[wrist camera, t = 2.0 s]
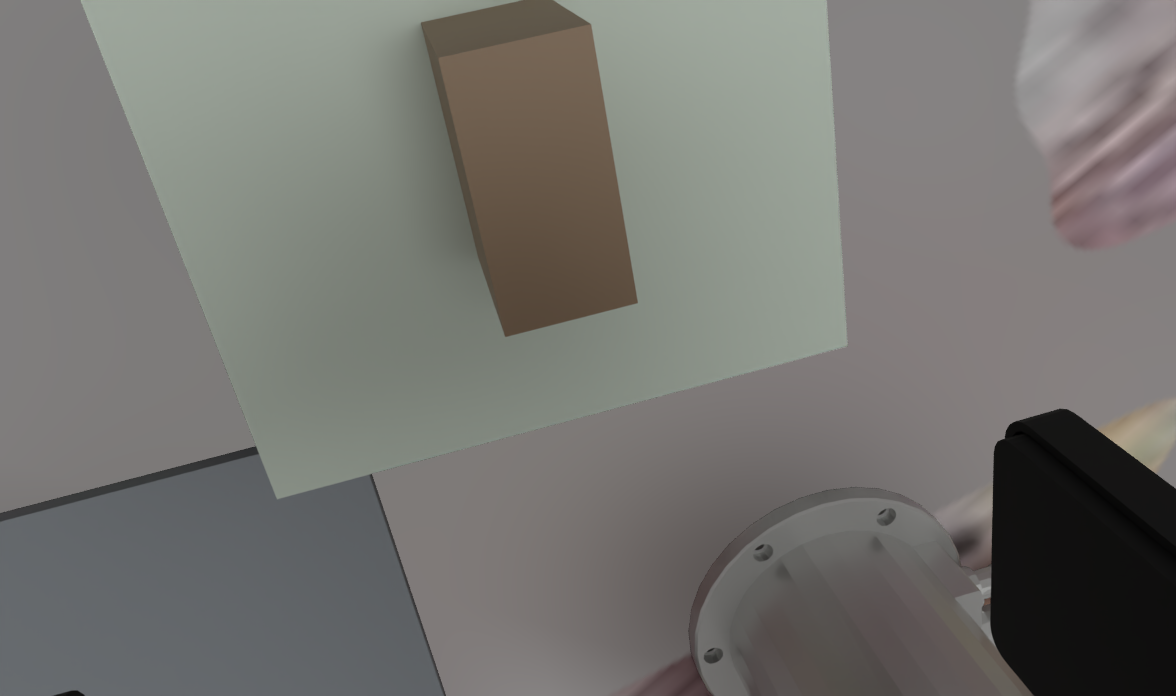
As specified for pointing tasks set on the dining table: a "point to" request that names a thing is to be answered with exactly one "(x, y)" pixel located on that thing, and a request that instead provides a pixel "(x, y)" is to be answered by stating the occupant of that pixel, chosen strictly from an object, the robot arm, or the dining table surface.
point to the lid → (484, 206)
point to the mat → (209, 590)
